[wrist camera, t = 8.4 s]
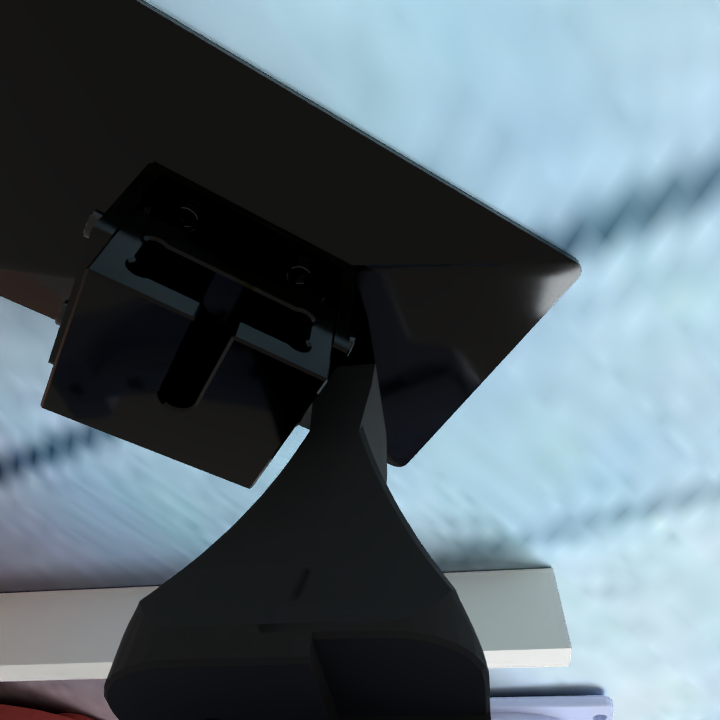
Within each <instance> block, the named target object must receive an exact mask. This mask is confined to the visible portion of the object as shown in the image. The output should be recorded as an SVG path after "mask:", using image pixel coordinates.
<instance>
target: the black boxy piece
mask: <svg viewBox="0 0 720 720" xmlns="http://www.w3.org/2000/svg"><path fill="white" fill-rule="evenodd" d="M580 275H581V266H580V264H579V262H578V260H577V259H576V258H574V257H573V256H571V255H569V254H567V253H566V252H564V251H562V250H561V249H559V248H557V247H556V246H554V245H552V244H551V243H549V242H547V241H546V240H544V239H542V238H541V237H539V236H537V235H536V234H534V233H532V232H531V231H529V230H527V229H526V228H524V227H522V226H521V225H519V224H517V223H516V222H514V221H512V220H510V219H509V218H507V217H505V216H504V215H502V214H500V213H499V212H497V211H495V210H494V209H492V208H490V207H489V206H487V205H485V204H484V203H482V202H480V201H479V200H477V199H475V198H474V197H472V196H470V195H469V194H467V193H465V192H464V191H462V190H460V189H459V188H457V187H455V186H453V185H452V184H450V183H448V182H447V181H445V180H443V179H442V178H440V177H438V176H437V175H435V174H433V173H432V172H430V171H428V170H427V169H425V168H423V167H422V166H420V165H418V164H417V163H415V162H413V161H412V160H410V159H408V158H407V157H405V156H403V155H402V154H400V153H398V152H396V151H395V150H393V149H391V148H390V147H388V146H386V145H385V144H383V143H381V142H380V141H378V140H376V139H375V138H373V137H371V136H370V135H368V134H366V133H365V132H363V131H361V130H360V129H358V128H356V127H355V126H353V125H351V124H350V123H348V122H346V121H345V120H343V119H341V118H339V117H338V116H336V115H334V114H333V113H331V112H329V111H328V110H326V109H324V108H323V107H321V106H319V105H318V104H316V103H314V102H313V101H311V100H309V99H308V98H306V97H304V96H303V95H301V94H299V93H298V92H296V91H294V90H293V89H291V88H289V87H288V86H286V85H284V84H282V83H281V82H279V81H277V80H276V79H274V78H272V77H271V76H269V75H267V74H266V73H264V72H262V71H261V70H259V69H257V68H256V67H254V66H252V65H251V64H249V63H247V62H246V61H244V60H242V59H241V58H239V57H237V56H236V55H234V54H232V53H231V52H229V51H227V50H225V49H224V48H222V47H220V46H219V45H217V44H215V43H214V42H212V41H210V40H209V39H207V38H205V37H204V36H202V35H200V34H199V33H197V32H195V31H194V30H192V29H190V28H189V27H187V26H185V25H184V24H182V23H180V22H179V21H177V20H175V19H174V18H172V17H170V16H168V15H167V14H165V13H163V12H162V11H160V10H158V9H157V8H155V7H153V6H152V5H150V4H148V3H147V2H145V1H143V0H0V296H2V297H4V298H6V299H9V300H11V301H13V302H15V303H18V304H20V305H22V306H25V307H27V308H29V309H32V310H34V311H36V312H39V313H41V314H43V315H46V316H48V317H50V318H52V319H55V323H56V324H57V325H60V328H59V331H58V334H57V337H56V340H55V343H54V346H53V349H52V352H51V355H50V358H49V362H48V363H51V364H53V368H52V371H51V374H50V377H49V380H48V383H47V386H46V389H45V392H44V395H43V399H42V402H41V407H42V408H44V409H47V410H49V411H52V412H54V413H57V414H59V415H62V416H64V417H67V418H70V419H72V420H75V421H77V422H80V423H82V424H85V425H88V426H90V427H93V428H95V429H98V430H100V431H103V432H105V433H108V434H111V435H113V436H116V437H118V438H121V439H123V440H126V441H128V442H131V443H134V444H136V445H139V446H141V447H144V448H146V449H149V450H151V451H154V452H157V453H159V454H162V455H164V456H167V457H169V458H172V459H174V460H177V461H180V462H182V463H185V464H187V465H190V466H192V467H195V468H197V469H200V470H203V471H205V472H208V473H210V474H213V475H215V476H218V477H220V478H223V479H226V480H228V481H231V482H233V483H236V484H238V485H241V486H243V487H246V488H249V489H250V488H252V487H253V486H254V484H255V483H256V481H257V480H258V478H259V477H260V476H261V474H262V473H263V471H264V470H265V469H266V467H267V466H268V464H269V463H270V462H271V460H272V459H273V457H274V456H275V455H276V453H277V452H278V450H279V449H280V448H281V446H282V445H283V443H284V442H285V441H286V439H287V438H288V436H289V435H290V433H291V432H292V431H293V429H294V428H295V427H296V426H298V425H300V426H302V427H305V428H307V429H309V430H310V423H311V413H312V403H313V401H314V400H315V398H316V397H317V395H318V394H319V393H320V391H321V390H322V388H323V387H324V386H325V384H326V383H327V381H328V379H329V378H330V377H331V375H332V374H333V372H334V371H335V370H336V368H337V367H339V366H352V365H364V364H376V371H377V377H378V384H379V390H380V397H381V403H382V409H383V416H384V422H385V429H386V441H387V463H388V464H390V465H393V466H396V467H402V466H405V465H406V464H407V463H408V462H409V461H410V460H411V459H412V458H413V457H414V456H415V455H416V454H417V453H418V451H419V450H420V449H421V448H422V447H423V446H424V445H425V444H426V443H427V442H428V441H429V440H430V438H431V437H432V436H433V435H434V434H435V433H436V432H437V431H438V430H439V429H440V428H441V427H442V425H443V424H444V423H445V422H446V421H447V420H448V419H449V418H450V417H451V416H452V415H453V413H454V412H455V411H456V410H457V409H458V408H459V407H460V406H461V405H462V404H463V403H464V402H465V400H466V399H467V398H468V397H469V396H470V395H471V394H472V393H473V392H474V391H475V390H476V389H477V387H478V386H479V385H480V384H481V383H482V382H483V381H484V380H485V379H486V378H487V377H488V375H489V374H490V373H491V372H492V371H493V370H494V369H495V368H496V367H497V366H498V365H499V364H500V362H501V361H502V360H503V359H504V358H505V357H506V356H507V355H508V354H509V353H510V352H511V351H512V349H513V348H514V347H515V346H516V345H517V344H518V343H519V342H520V341H521V340H522V339H523V338H524V336H525V335H526V334H527V333H528V332H529V331H530V330H531V329H532V328H533V327H534V326H535V324H536V323H537V322H538V321H539V320H540V319H541V318H542V317H543V316H544V315H545V314H546V313H547V311H548V310H549V309H550V308H551V307H552V306H553V305H554V304H555V303H556V302H557V301H558V300H559V298H560V297H561V296H562V295H563V294H564V293H565V292H566V291H567V290H568V289H569V288H570V286H571V285H572V284H573V283H574V282H575V281H576V280H577V279H578V278H579V276H580Z"/></svg>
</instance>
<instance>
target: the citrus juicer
mask: <svg viewBox="0 0 720 720" xmlns="http://www.w3.org/2000/svg"><path fill="white" fill-rule="evenodd" d="M0 720H94V719H92V718H90V717H88V716H85V715H81V714H76V713H61V714H53V713H48V712H44V711H40V710H36V709H29V708H23V707H17V706H11V705H1V704H0Z"/></svg>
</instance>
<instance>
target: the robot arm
mask: <svg viewBox="0 0 720 720" xmlns="http://www.w3.org/2000/svg"><path fill="white" fill-rule="evenodd" d="M386 482H387V441H386V429H385V422H384V416H383V409H382V403H381V397H380V390H379V384H378V377H377V371H376V364H364V365H352V366H339V367H337V368H336V370H335V371H334V372H333V374H332V375H331V377H330V378H329V379H328V381H327V383H326V384H325V386H324V387H323V388H322V390H321V391H320V393H319V394H318V395H317V397H316V398H315V400H314V401H313V403H312V413H311V423H310V432H309V433H308V435H307V436H306V438H305V439H304V441H303V442H302V444H301V445H300V446H299V448H298V449H297V451H296V452H295V454H294V455H293V456H292V458H291V459H290V461H289V462H288V464H287V465H286V466H285V467H284V469H283V470H282V471H281V473H280V474H279V475H278V477H277V478H276V479H275V480H274V481H273V483H272V484H271V485H270V486H269V487H268V489H267V490H266V491H265V492H264V493H263V494H262V496H261V497H260V498H259V499H258V500H257V501H256V502H255V503H254V504H253V505H252V506H251V508H250V509H249V510H248V511H247V512H246V513H245V514H244V515H243V516H242V517H241V518H240V519H239V520H238V521H237V522H236V523H235V524H234V525H233V526H232V527H231V528H230V529H229V530H228V531H227V532H226V533H225V534H224V535H223V536H221V537H220V538H219V539H218V540H217V541H216V542H215V543H214V544H212V545H211V546H210V547H209V548H208V549H207V550H206V551H205V552H203V553H202V554H201V555H200V556H199V557H198V558H196V559H195V560H194V561H193V562H191V563H190V564H189V565H188V566H186V567H185V568H184V569H183V570H181V571H180V572H179V573H177V574H176V575H174V576H173V577H172V578H170V579H169V580H168V581H166V582H165V583H164V584H162V585H161V586H160V587H158V588H157V589H156V590H154V591H153V592H151V593H150V594H149V595H147V596H146V597H144V598H143V599H141V600H140V601H139V604H138V606H137V608H136V610H135V612H134V614H133V616H132V618H131V620H130V622H129V623H128V626H127V628H126V630H125V632H124V635H123V637H122V639H121V642H120V645H119V647H118V650H117V653H116V655H115V658H114V661H113V663H112V666H111V669H110V671H109V674H108V677H107V679H106V682H105V685H104V697H105V699H106V700H107V702H108V704H109V706H110V708H111V710H112V712H113V713H114V714H115V715H116V717H117V718H118V719H119V720H612V719H613V715H614V706H613V702H612V699H610V698H609V697H607V696H603V695H586V696H539V697H492V698H490V685H489V671H488V667H487V662H486V659H485V655H484V652H483V649H482V647H481V644H480V642H479V639H478V637H477V635H476V632H475V630H474V628H473V625H472V623H471V621H470V619H469V617H468V615H467V613H466V611H465V609H464V607H463V605H462V603H461V601H460V599H459V596H458V594H457V591H456V589H455V588H454V586H453V585H452V584H451V583H450V581H449V580H448V579H447V578H446V576H445V575H444V574H443V573H442V571H441V570H440V569H439V567H438V566H437V565H436V563H435V562H434V561H433V560H432V558H431V557H430V555H429V554H428V552H427V551H426V550H425V548H424V547H423V545H422V544H421V542H420V541H419V540H418V538H417V536H416V535H415V533H414V532H413V530H412V528H411V527H410V525H409V523H408V522H407V520H406V519H405V517H404V515H403V514H402V512H401V511H400V509H399V507H398V505H397V503H396V502H395V500H394V498H393V496H392V494H391V492H390V490H389V488H388V486H387V484H386Z"/></svg>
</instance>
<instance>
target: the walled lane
mask: <svg viewBox="0 0 720 720" xmlns="http://www.w3.org/2000/svg"><path fill="white" fill-rule="evenodd" d="M443 574H444V575H445V576H446V578H447V579H448V580H449V581H450V583H451V584H452V585H453V586H454V588H455V589H456V591H457V594H458V596H459V599H460V601H461V603H462V605H463V607H464V609H465V611H466V613H467V615H468V617H469V619H470V621H471V623H472V625H473V628H474V630H475V632H476V635H477V637H478V639H479V642H480V644H481V647H482V649H483V652H484V655H485V659H486V662H487V667H488V668H522V667H559V666H570V658H571V650H572V648H571V643H570V639H569V635H568V630H567V626H566V622H565V618H564V613H563V609H562V605H561V600H560V596H559V592H558V588H557V583H556V579H555V575H554V570H553V568H542V569H521V570H499V571H477V572H455V573H443ZM158 587H160V586H150V587H128V588H107V589H85V590H63V591H41V592H20V593H0V681H38V680H75V679H107V677H108V674H109V671H110V669H111V666H112V663H113V661H114V658H115V655H116V653H117V650H118V647H119V645H120V642H121V639H122V637H123V635H124V632H125V630H126V628H127V626H128V623H129V622H130V620H131V618H132V616H133V614H134V612H135V610H136V608H137V606H138V604H139V601H140V600H141V599H143V598H144V597H146V596H147V595H149V594H150V593H151V592H153V591H154V590H156V589H157V588H158Z"/></svg>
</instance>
